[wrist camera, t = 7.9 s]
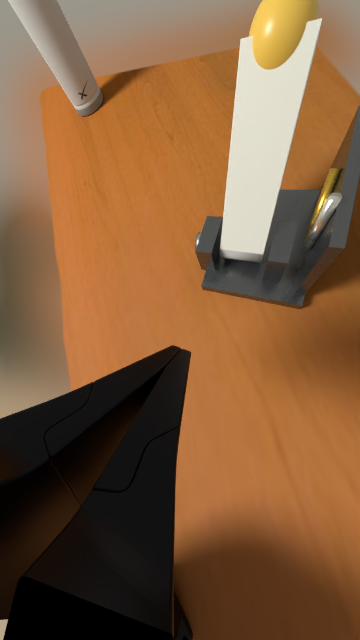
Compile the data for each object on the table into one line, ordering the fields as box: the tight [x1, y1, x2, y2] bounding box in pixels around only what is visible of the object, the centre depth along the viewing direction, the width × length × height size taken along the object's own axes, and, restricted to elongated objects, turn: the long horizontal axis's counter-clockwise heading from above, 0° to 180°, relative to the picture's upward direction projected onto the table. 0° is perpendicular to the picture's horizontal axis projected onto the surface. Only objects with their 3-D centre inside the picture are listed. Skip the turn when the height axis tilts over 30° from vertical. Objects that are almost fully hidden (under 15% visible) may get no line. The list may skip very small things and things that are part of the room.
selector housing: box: [195, 106, 360, 309], centre depth 17 cm, size 13×11×9 cm
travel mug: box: [8, 0, 103, 116], centre depth 30 cm, size 6×7×20 cm
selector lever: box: [220, 0, 322, 263], centre depth 15 cm, size 4×4×15 cm
